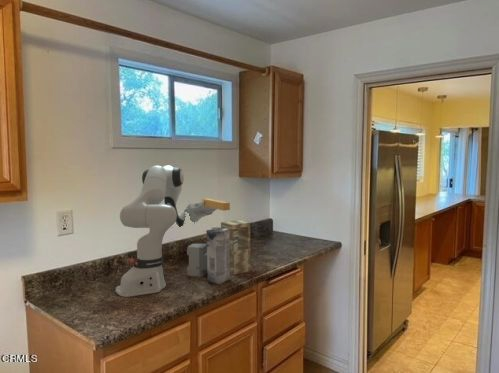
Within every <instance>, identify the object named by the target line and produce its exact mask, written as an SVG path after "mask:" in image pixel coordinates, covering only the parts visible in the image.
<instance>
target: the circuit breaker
mask: <svg viewBox="0 0 499 373" xmlns="http://www.w3.org/2000/svg"><path fill="white" fill-rule="evenodd" d="M186 255H187V256H188V266H187V270H186V271H187V276H189V277H204V276H205V275H207V243H191V244H190V245H188V246H187V249H186Z"/></svg>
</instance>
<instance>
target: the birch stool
mask: <svg viewBox="0 0 499 373" xmlns="http://www.w3.org/2000/svg"><path fill="white" fill-rule="evenodd" d="M220 228H227V229H230V233H229V247H230V276H234V275H238V274H243V273H247V272H251V270H252V269H251V262H252V261H251V259H252V258H251V222H250V221H245V220H241V219H238V220H237V219H236V220H228V221H221V222H220ZM234 228H237V231H238V250H237V251H234Z"/></svg>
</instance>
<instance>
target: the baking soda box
mask: <svg viewBox="0 0 499 373" xmlns="http://www.w3.org/2000/svg"><path fill="white" fill-rule="evenodd" d="M237 250H238V231H237V228H234V251H237Z"/></svg>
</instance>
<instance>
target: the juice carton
mask: <svg viewBox="0 0 499 373" xmlns="http://www.w3.org/2000/svg"><path fill="white" fill-rule="evenodd" d="M229 233H230V229H227V228H221V227H218V225H214V226H211V228H210V229H206V244H207V273H206V275H207V282H208V283H211V284H214V285H221V284H223V283H225V282H227V281H230V277H231V275H230V247H229Z"/></svg>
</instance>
